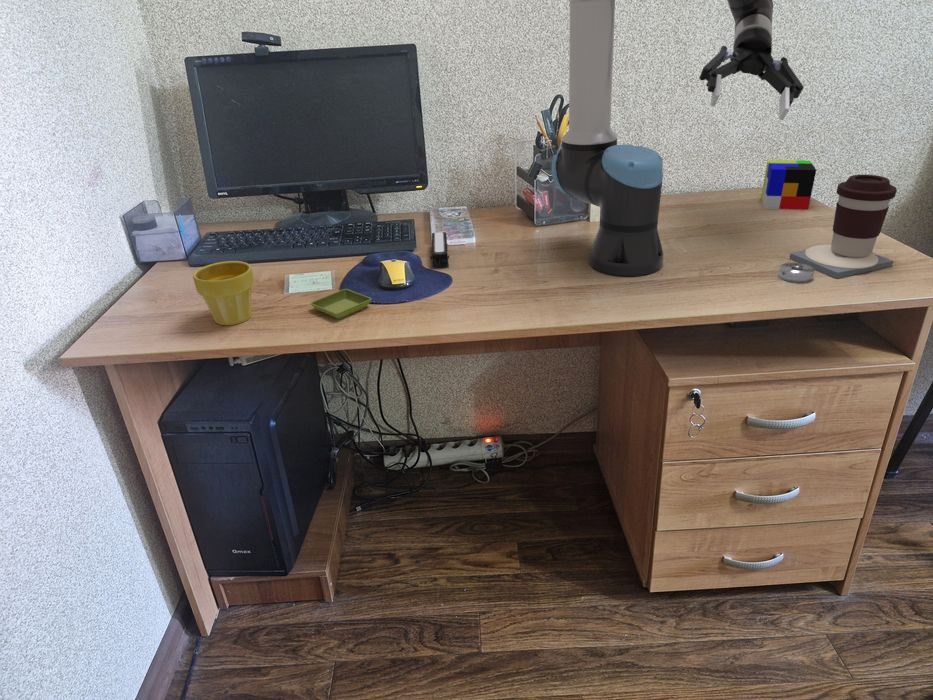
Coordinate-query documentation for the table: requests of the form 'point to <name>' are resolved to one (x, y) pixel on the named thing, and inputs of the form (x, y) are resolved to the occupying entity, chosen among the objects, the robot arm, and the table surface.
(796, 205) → the puzzle toy
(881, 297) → the table surface
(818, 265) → the disc case
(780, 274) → the grey rounded disc
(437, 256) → the white-topped black block
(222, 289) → the plant pot
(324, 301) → the green rectangular tray
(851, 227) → the coffee cup
